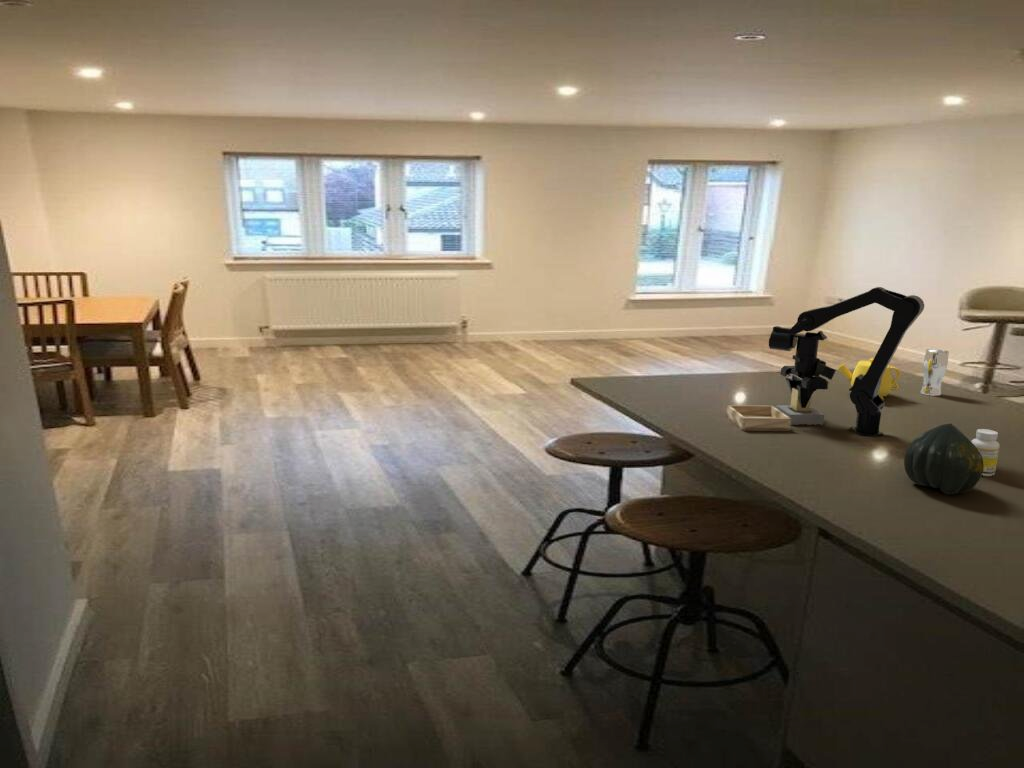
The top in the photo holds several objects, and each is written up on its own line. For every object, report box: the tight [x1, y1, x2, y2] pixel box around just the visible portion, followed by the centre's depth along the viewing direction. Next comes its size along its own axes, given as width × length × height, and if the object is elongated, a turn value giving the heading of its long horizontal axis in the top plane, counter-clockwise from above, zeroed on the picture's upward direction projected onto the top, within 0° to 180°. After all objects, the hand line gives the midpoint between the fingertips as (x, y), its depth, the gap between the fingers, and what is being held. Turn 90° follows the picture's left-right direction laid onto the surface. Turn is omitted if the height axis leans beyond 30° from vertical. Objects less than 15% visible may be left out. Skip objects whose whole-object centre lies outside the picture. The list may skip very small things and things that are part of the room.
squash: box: [903, 422, 984, 495], centre depth 157 cm, size 14×15×15 cm
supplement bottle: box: [970, 428, 1001, 477], centre depth 167 cm, size 6×6×10 cm
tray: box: [725, 404, 792, 432], centre depth 204 cm, size 14×14×4 cm
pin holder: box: [775, 404, 825, 426], centre depth 208 cm, size 10×10×3 cm
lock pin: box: [789, 388, 812, 413], centre depth 207 cm, size 4×4×9 cm
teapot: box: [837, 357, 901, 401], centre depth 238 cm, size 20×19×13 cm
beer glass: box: [920, 348, 949, 397], centre depth 240 cm, size 7×7×15 cm
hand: (800, 405), depth 208 cm, fingers closed on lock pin, 4 cm apart
